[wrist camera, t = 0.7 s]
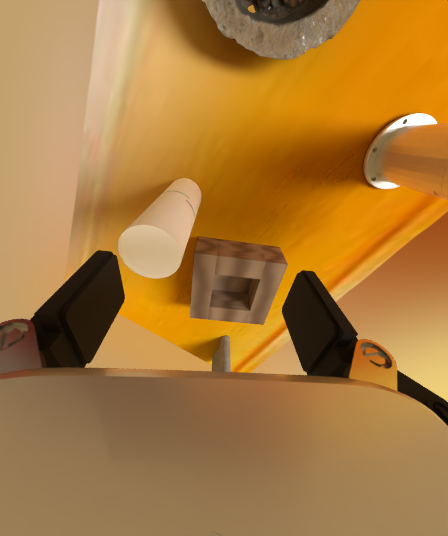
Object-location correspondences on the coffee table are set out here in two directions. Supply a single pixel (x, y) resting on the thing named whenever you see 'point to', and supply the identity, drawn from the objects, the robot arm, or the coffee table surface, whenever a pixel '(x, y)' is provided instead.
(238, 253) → the walnut well block
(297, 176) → the coffee table surface
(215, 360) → the hip flask
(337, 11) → the stone bowl
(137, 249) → the cylindrical container
